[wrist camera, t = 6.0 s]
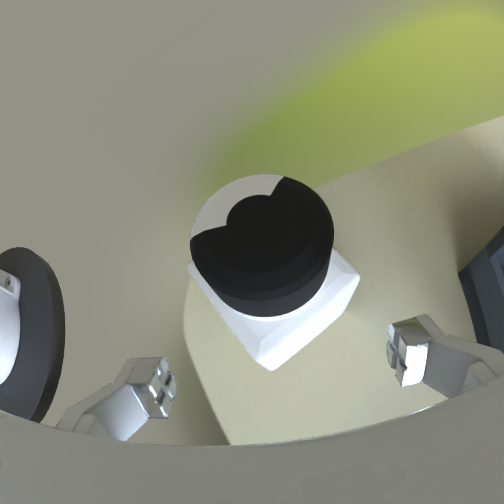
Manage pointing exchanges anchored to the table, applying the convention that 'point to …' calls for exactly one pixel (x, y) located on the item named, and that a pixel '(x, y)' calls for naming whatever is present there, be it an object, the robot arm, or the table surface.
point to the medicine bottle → (270, 264)
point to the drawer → (486, 292)
